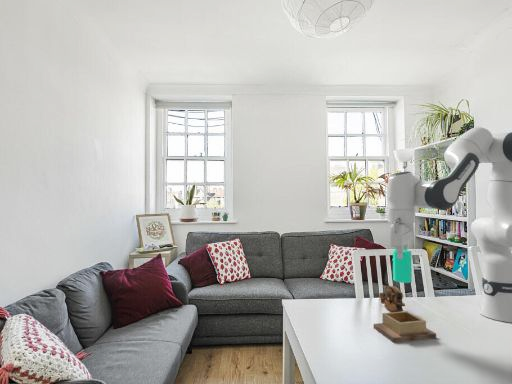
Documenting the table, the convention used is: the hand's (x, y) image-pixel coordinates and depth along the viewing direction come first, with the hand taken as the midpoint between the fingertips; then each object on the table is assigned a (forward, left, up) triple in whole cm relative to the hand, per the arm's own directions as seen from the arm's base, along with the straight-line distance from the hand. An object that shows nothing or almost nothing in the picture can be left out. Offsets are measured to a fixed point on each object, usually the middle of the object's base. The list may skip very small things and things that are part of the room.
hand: (402, 256), depth 113 cm
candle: (0, 0, -8) cm, 9 cm away
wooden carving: (-9, -21, -27) cm, 35 cm away
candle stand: (0, 0, -27) cm, 27 cm away
